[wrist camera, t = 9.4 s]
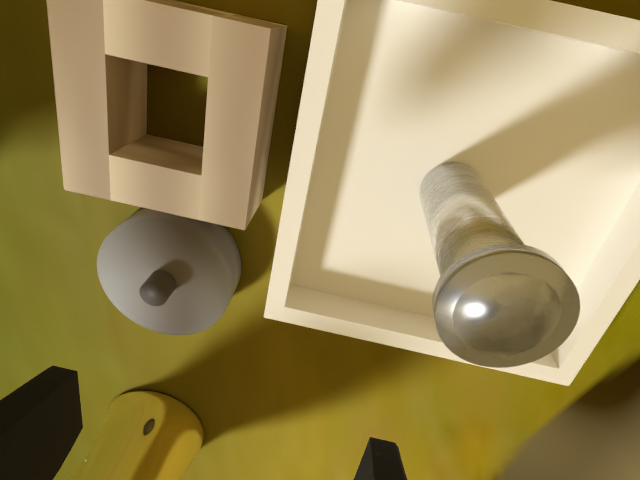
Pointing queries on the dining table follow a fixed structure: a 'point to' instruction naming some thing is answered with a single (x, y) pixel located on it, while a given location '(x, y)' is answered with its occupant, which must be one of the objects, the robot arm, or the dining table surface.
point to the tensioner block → (166, 147)
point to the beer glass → (143, 440)
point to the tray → (459, 160)
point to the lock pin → (491, 276)
